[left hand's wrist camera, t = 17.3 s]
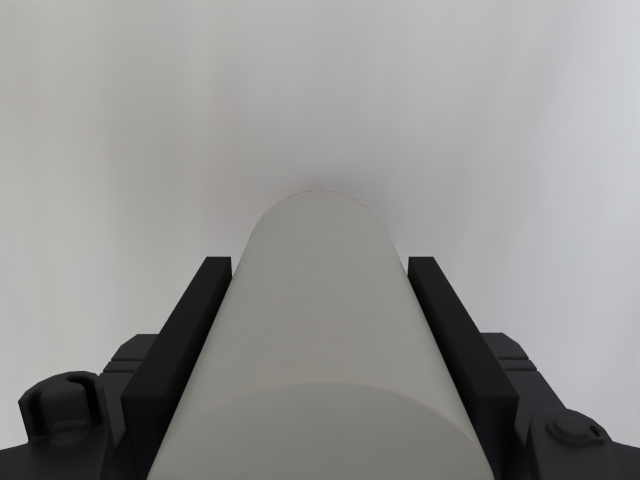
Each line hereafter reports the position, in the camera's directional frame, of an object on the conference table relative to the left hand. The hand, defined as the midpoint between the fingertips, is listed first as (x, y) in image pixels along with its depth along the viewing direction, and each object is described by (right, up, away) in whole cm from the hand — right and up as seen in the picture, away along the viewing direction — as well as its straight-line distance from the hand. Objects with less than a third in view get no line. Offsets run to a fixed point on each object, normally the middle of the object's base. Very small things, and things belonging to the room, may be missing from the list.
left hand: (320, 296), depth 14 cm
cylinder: (0, +1, +3) cm, 3 cm away
